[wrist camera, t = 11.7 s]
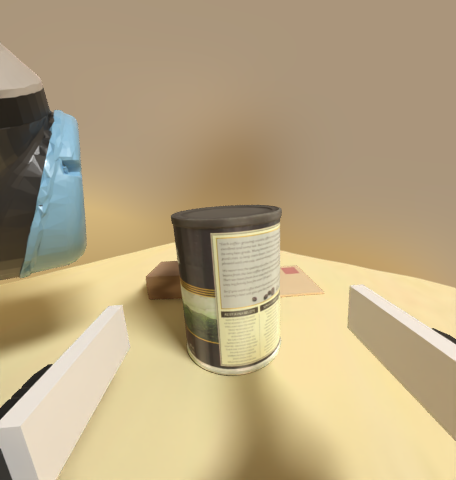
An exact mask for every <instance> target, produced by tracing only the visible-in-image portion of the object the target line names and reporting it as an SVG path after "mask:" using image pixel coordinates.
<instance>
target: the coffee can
mask: <svg viewBox="0 0 456 480" xmlns="http://www.w3.org/2000/svg"><path fill="white" fill-rule="evenodd" d="M281 213H282V210H281V208H278V207H275V206H266V205H235V206H219V207H206V208H199V209H192V210H186V211H181V212H177V213H175V214H173V215H171V221H172V224H173V227H174V235H175V243H176V251H177V260H178V268H179V276H180V284H181V292H182V300H183V308H184V317H185V326H186V335H187V349H188V352H189V355H190V357H191V358H192V360H193V361H194V362H195V363H196V364H197V365H199V366H200V367H202V368H203V369H205V370H207V371H210V372H213V373H216V374H221V375H243V374H247V373H251V372H254V371H257V370H259V369H261V368H263V367H265V366H266V365H268V364H269V363H270V362H271V361H272V360H273V359H274V358H275V357H276V355H277V354H278V352H279V349H280V346H281V336H280V217H281Z"/></svg>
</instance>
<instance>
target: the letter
mask: <svg viewBox="0 0 456 480" xmlns="http://www.w3.org/2000/svg"><path fill="white" fill-rule="evenodd" d="M312 294H324V291H323V290H322V289H321V288H320V287H319V286H318V285H317V284H316V283H315V282H314V281H313V280H312V279H311V278H310V277H308V276H307V275H306V274H305V273H304V272H303V271H302V270H301V269H300V268H299V267H298V266H297V265H296V266H283V267H280V297H287V296H300V295H312Z"/></svg>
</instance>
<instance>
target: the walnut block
mask: <svg viewBox="0 0 456 480" xmlns="http://www.w3.org/2000/svg"><path fill="white" fill-rule="evenodd" d="M146 282H147V288H148V295H149V299H178V298H182V292H181V284H180V276H179V268H178V261H168V262H161V263H160V264H159V265H158V266H157V267H155V268H154V269H153V270H152V271H151V272H150V273H149V274H148V275H147V276H146Z"/></svg>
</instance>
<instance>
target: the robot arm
mask: <svg viewBox="0 0 456 480" xmlns="http://www.w3.org/2000/svg"><path fill="white" fill-rule="evenodd" d="M85 249H86V224H85V210H84V197H83V185H82V174H81V160H80V143H79V133H78V123H77V120H76V119H75V118H74V117H73V116H71V115H68V114H65V113H64V112H62V111H61V110H54V112H51V111H50V109H49V106H48V102H47V99H46V95H45V92H44V88H43V85H42V81H41V79H40V78H39V76H38V75H36V74H35V73H34V72H33V71H32V70H31V69H30V68H28V67H27V66H26V65H25V64H24V63H23V62H22V61H20V60H19V59H18V58H17V57H16V56H15V55H14V54H12V53H11V52H10V51H9V50H8V49H7V48H6V47H4V46H3V45H2V44H1V43H0V280H4V279H10V278H15V277H20V278H24V277H27V276H29V275H30V274H31V273H35V272H39V271H44V270H48V269H52V268H57V267H62V266H66V265H69V264H71V263H73V262H75V261H76V260H77V259H79V258H80V257H81V256H82V255H83V253H84V251H85ZM348 329H349V330H350V331H351V332H352V333H353V334H354V335H355V336H356V337H357V338H358V339H359V340H360V341H361V342H362V343H363V344H364V346H365V347H366V348H367V349H368V350H369V351H370V352H371V353H372V354H373V355H374V356H375V357H376V358H377V359H378V360H379V361H380V362H381V363H382V364H383V365H384V366H385V368H386V369H387V370H388V371H389V372H390V373H391V374H392V375H393V376H394V377H395V378H396V379H397V380H398V381H399V382H400V383H401V384H402V385H403V386H404V387H405V389H406V390H407V391H408V392H409V393H410V394H411V395H412V396H413V397H414V398H415V399H416V400H417V401H418V402H419V403H420V404H421V405H422V406H423V407H424V408H425V409H426V411H427V412H428V413H429V414H430V415H431V416H432V417H433V418H434V419H435V420H436V421H437V422H438V423H439V424H440V425H441V426H442V427H443V428H444V429H445V430H446V432H447V433H448V434H449V435H450V436H451V437H452V438H453V439H454V440H455V441H456V339H455V338H453V337H452V336H450V335H448V334H445V333H443V332H441V331H438V330H436V329H434V328H432V329H431V328H429V327H428V326H426V325H425V324H423V323H422V322H420V321H419V320H417V319H415V318H414V317H412V316H411V315H409V314H408V313H406V312H405V311H403V310H401V309H400V308H398V307H397V306H395V305H394V304H392V303H390V302H389V301H387V300H386V299H384V298H383V297H381V296H380V295H378V294H376V293H375V292H373V291H372V290H370V289H369V288H367V287H366V286H364V285H352V286H350V290H349V309H348ZM129 349H130V343H129V338H128V333H127V327H126V322H125V317H124V312H123V306H122V305H116V306H108V307H107V308H106V309H105V310H104V311H103V312H102V314H101V315H100V316H99V317H98V318H97V319H96V320H95V321H94V322H93V323H92V324H91V325H90V326H89V327H88V328H87V329H86V330H85V331H84V332H83V334H82V335H81V336H80V337H79V338H78V339H77V340H76V341H75V342H74V343H73V344H72V345H71V346H70V347H69V348H68V349H67V350H66V351H65V352H64V354H63V355H62V356H61V357H60V358H59V359H58V360H57V361H56V362H55V363H54V364H49V365H47V366H46V367H44V368H43V369H41V370H40V371H38V372H37V373H36V374H34V375H33V376H32V377H31V378H30V379H29V380H28V381H27V382H26V383H25V384H24V385H23V386H22V388H21V389H19V390H18V391H17V392H16V393H15V394H14V395H13V396H12V398H11V399H9V400H8V401H7V402H6V403H5V404H4V405H3V406H2V407H1V408H0V480H56V479H57V477H58V475H59V474H60V472H61V470H62V468H63V467H64V465H65V463H66V461H67V459H68V458H69V456H70V454H71V452H72V450H73V449H74V447H75V445H76V443H77V442H78V440H79V438H80V436H81V434H82V433H83V431H84V429H85V427H86V425H87V424H88V422H89V420H90V418H91V417H92V415H93V413H94V411H95V409H96V408H97V406H98V404H99V402H100V400H101V399H102V397H103V395H104V393H105V392H106V390H107V388H108V386H109V384H110V383H111V381H112V379H113V377H114V375H115V374H116V372H117V370H118V368H119V367H120V365H121V363H122V361H123V359H124V358H125V356H126V354H127V352H128V350H129Z"/></svg>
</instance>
